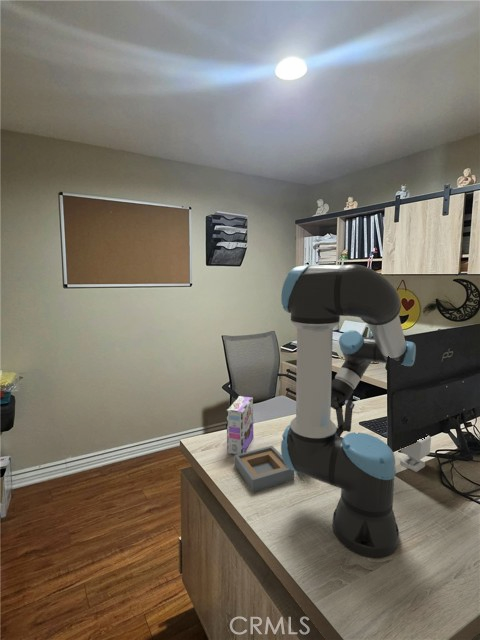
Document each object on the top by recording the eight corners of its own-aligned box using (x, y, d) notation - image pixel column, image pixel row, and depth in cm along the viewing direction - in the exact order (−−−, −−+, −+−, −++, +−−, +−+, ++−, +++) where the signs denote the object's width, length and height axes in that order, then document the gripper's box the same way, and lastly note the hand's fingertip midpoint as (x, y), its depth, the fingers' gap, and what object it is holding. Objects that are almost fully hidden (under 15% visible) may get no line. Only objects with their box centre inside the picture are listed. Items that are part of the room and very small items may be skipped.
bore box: (294, 479, 101) (294, 468, 100) (252, 492, 95) (252, 480, 95) (272, 456, 113) (272, 445, 113) (234, 466, 108) (234, 455, 107)
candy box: (242, 457, 113) (242, 412, 111) (226, 454, 115) (225, 409, 113) (254, 437, 126) (253, 396, 124) (239, 435, 128) (238, 395, 125)
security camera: (429, 465, 107) (431, 436, 105) (417, 472, 103) (419, 443, 102) (409, 456, 112) (411, 428, 111) (398, 463, 108) (400, 434, 107)
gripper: (380, 401, 105) (347, 460, 99) (322, 380, 126) (292, 427, 120) (371, 389, 101) (336, 449, 95) (312, 369, 122) (281, 417, 116)
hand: (311, 437), depth 108 cm, fingers open, 13 cm apart
